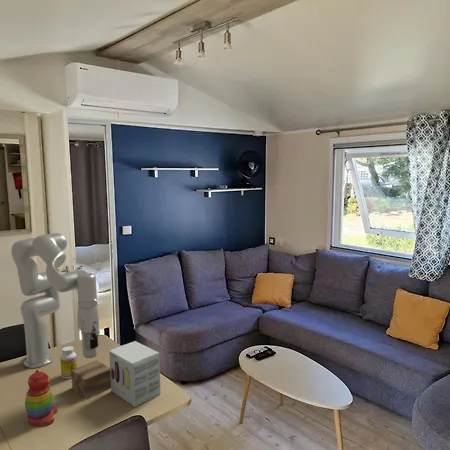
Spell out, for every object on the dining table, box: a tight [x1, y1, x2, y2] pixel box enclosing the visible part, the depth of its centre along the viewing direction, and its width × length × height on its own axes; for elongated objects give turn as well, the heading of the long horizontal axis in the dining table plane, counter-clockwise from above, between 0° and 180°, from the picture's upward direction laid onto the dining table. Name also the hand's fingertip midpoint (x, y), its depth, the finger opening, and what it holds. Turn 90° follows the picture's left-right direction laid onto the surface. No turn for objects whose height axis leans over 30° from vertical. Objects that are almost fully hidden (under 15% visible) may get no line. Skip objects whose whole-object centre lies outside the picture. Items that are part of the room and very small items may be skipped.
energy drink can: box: [81, 326, 99, 359], centre depth 170 cm, size 6×6×15 cm
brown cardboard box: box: [71, 360, 111, 399], centre depth 172 cm, size 12×12×8 cm
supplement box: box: [108, 340, 162, 408], centre depth 167 cm, size 17×13×18 cm
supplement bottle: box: [59, 345, 78, 380], centre depth 182 cm, size 7×7×13 cm
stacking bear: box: [24, 369, 59, 427], centre depth 151 cm, size 11×10×18 cm
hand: (90, 344), depth 170 cm, fingers closed on energy drink can, 6 cm apart
